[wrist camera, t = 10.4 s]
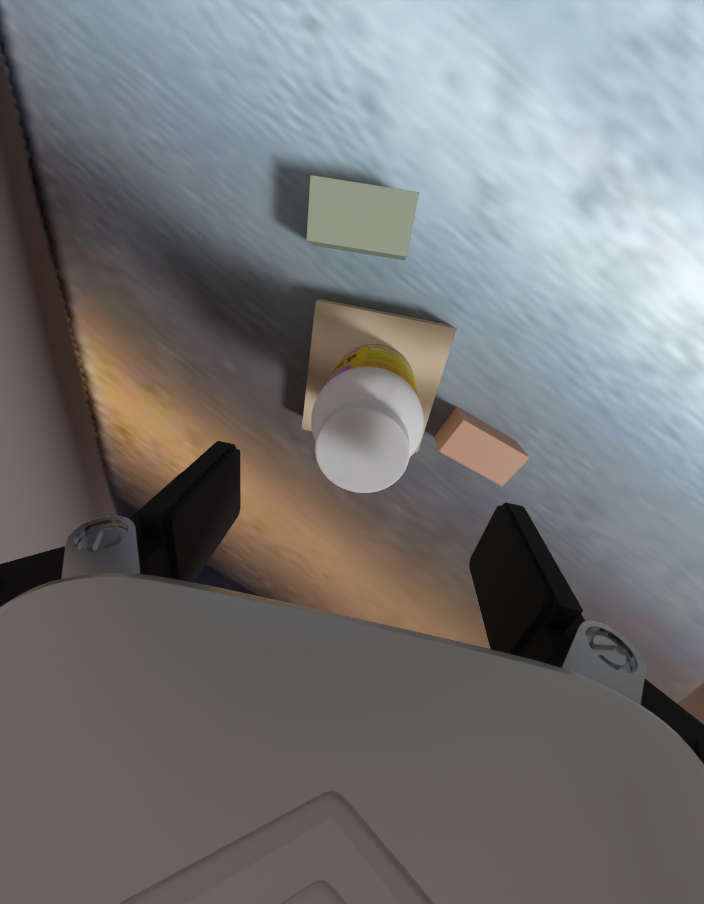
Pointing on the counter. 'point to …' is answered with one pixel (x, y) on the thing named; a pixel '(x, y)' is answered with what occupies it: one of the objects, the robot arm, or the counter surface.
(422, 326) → the maple slab
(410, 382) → the supplement bottle
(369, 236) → the sage brick
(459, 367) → the counter surface
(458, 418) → the terracotta brick
